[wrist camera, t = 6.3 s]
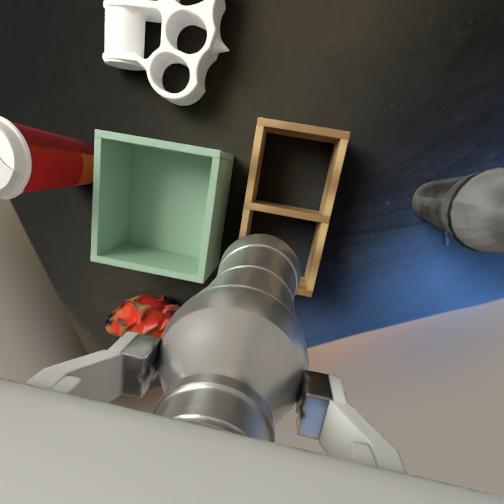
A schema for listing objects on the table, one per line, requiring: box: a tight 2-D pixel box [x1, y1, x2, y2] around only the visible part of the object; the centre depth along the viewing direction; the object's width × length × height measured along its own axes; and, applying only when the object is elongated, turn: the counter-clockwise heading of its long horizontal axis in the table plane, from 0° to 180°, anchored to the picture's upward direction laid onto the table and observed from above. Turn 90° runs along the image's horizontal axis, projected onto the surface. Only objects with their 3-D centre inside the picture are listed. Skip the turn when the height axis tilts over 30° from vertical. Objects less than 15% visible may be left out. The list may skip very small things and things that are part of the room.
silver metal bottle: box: [153, 234, 309, 442], centre depth 18 cm, size 6×7×20 cm
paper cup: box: [0, 116, 94, 199], centre depth 34 cm, size 8×8×14 cm
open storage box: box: [91, 129, 234, 284], centre depth 37 cm, size 15×14×8 cm
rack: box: [239, 117, 350, 297], centre depth 37 cm, size 19×10×5 cm, turn 170°
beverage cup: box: [412, 166, 504, 253], centre depth 27 cm, size 7×7×20 cm
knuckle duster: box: [103, 0, 230, 106], centre depth 34 cm, size 3×18×15 cm
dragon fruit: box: [105, 294, 180, 338], centre depth 41 cm, size 8×8×12 cm
